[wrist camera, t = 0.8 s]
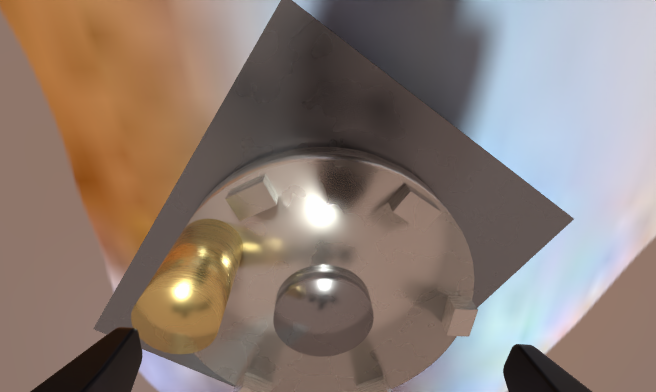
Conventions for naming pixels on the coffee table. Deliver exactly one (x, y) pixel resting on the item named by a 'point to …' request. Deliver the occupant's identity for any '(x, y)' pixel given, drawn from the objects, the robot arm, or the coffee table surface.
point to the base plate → (351, 133)
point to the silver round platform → (314, 277)
